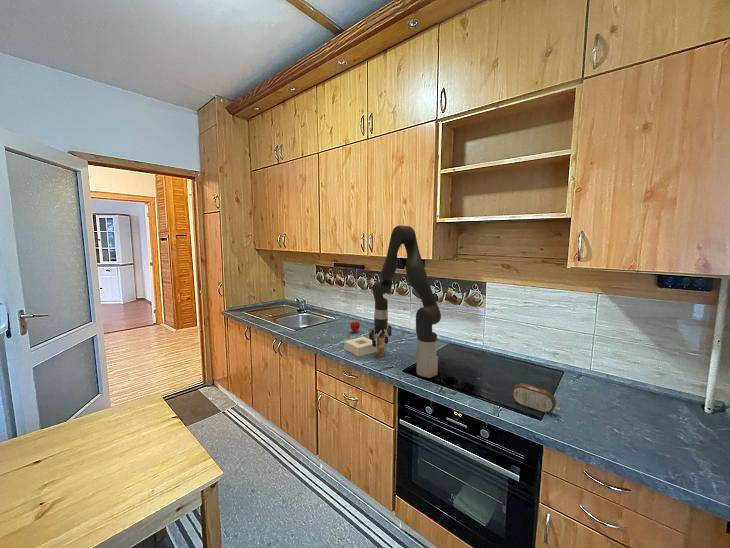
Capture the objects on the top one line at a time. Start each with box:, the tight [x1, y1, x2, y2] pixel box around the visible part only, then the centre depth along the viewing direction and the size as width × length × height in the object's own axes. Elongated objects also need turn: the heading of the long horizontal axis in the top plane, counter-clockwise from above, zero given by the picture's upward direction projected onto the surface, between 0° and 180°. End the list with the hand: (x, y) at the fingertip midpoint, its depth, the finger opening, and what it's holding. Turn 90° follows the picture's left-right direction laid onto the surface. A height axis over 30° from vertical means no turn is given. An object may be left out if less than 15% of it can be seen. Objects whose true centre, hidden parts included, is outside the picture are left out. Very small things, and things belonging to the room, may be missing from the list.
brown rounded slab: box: [511, 383, 557, 414], centre depth 117 cm, size 15×3×8 cm, turn 48°
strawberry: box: [349, 320, 361, 333], centre depth 208 cm, size 6×8×10 cm
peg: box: [376, 335, 385, 358], centre depth 168 cm, size 4×4×12 cm
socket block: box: [344, 336, 377, 358], centre depth 176 cm, size 14×14×5 cm
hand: (380, 345), depth 168 cm, fingers open, 8 cm apart
